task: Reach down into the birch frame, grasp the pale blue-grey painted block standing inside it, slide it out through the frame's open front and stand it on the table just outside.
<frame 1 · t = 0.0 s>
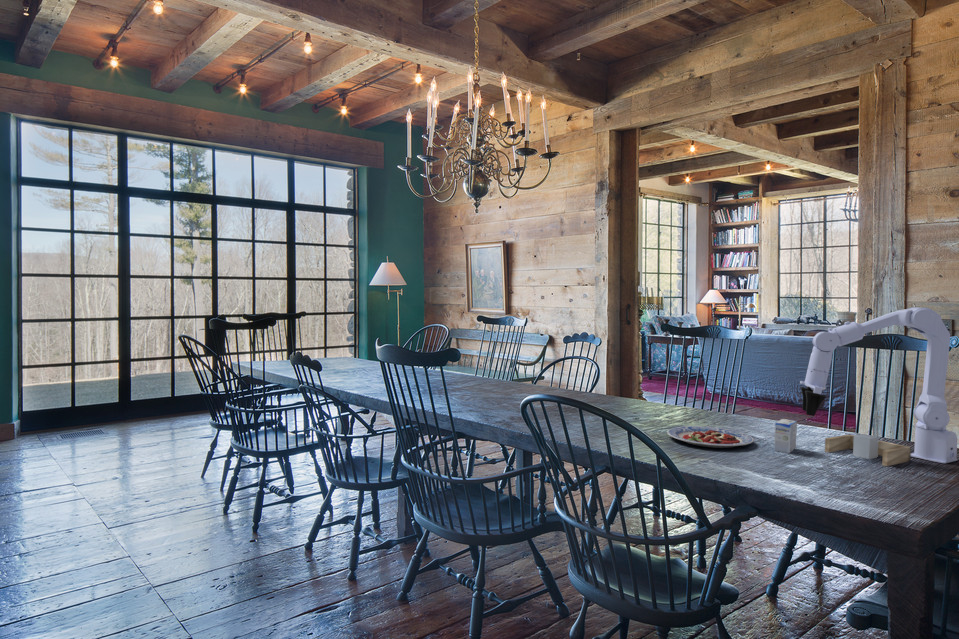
hand: (808, 413, 188), 11 cm above the table, tool pointing down, fingers open, 7 cm apart
ceramic plate: (709, 442, 194), on the table
birch frame: (866, 456, 178), on the table
medicine box: (785, 450, 184), on the table
block: (865, 456, 178), on the table
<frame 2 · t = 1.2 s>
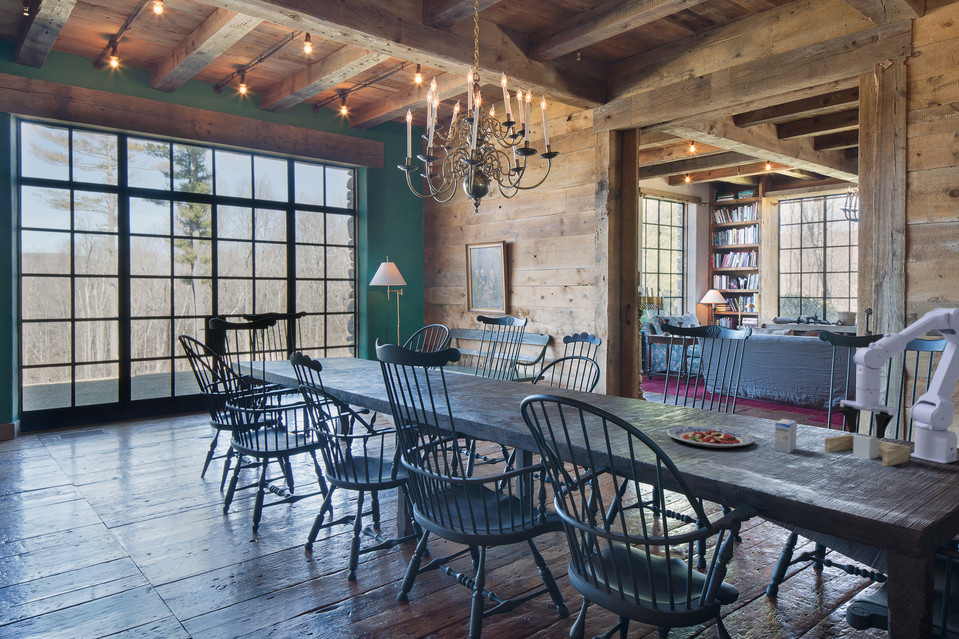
hand: (865, 435, 177), 6 cm above the table, tool pointing down, fingers open, 7 cm apart
nothing on the table moved.
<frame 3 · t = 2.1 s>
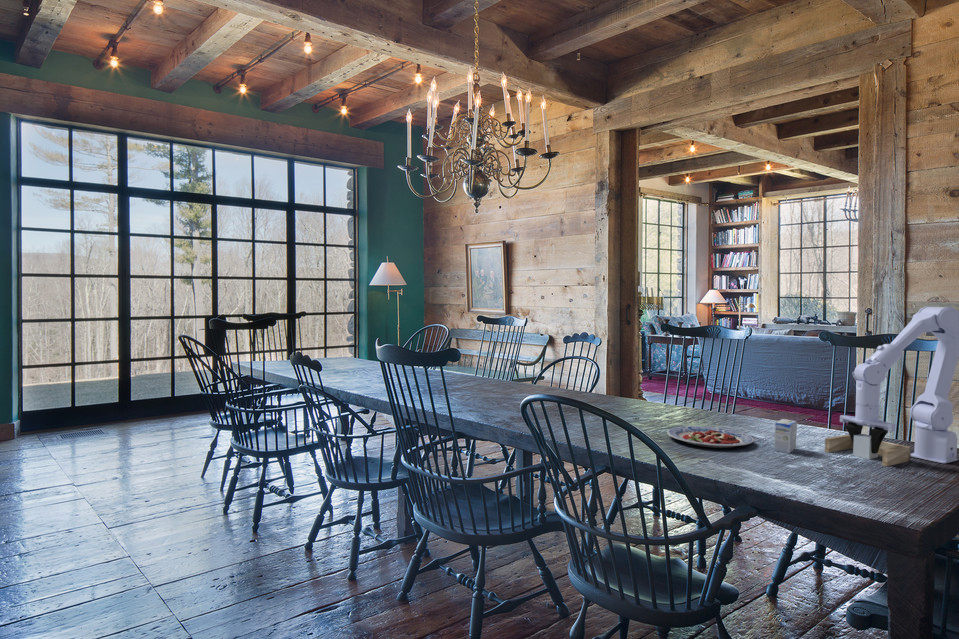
hand: (865, 450, 178), 2 cm above the table, tool pointing down, fingers closed on block, 4 cm apart
block: (865, 456, 178), on the table, touching gripper
everything else where it was.
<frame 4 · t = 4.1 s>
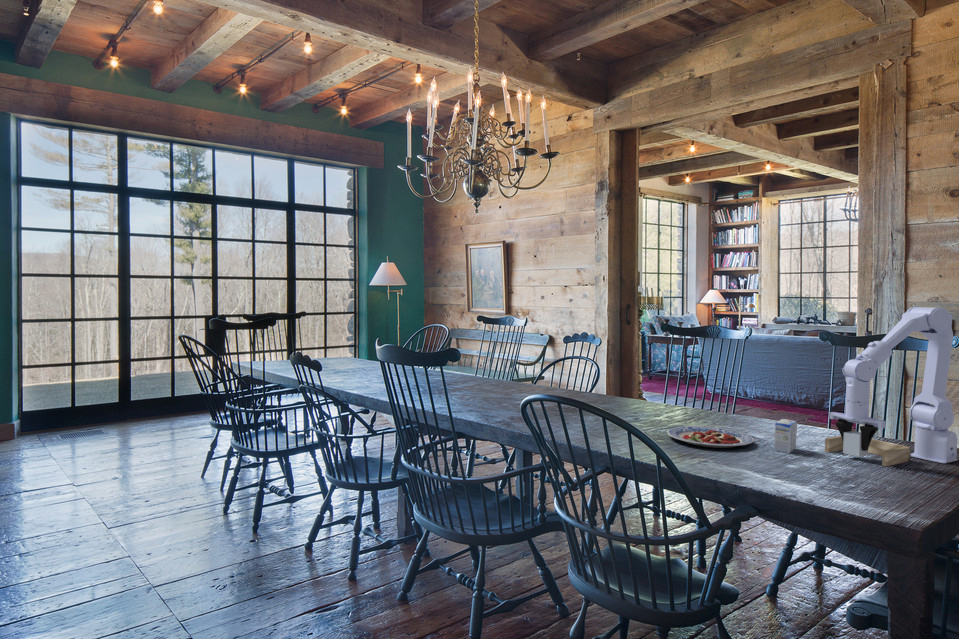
hand: (855, 448, 175), 3 cm above the table, tool pointing down, fingers closed on block, 4 cm apart
block: (855, 453, 175), point 1 cm above the table, touching gripper
everything else where it was.
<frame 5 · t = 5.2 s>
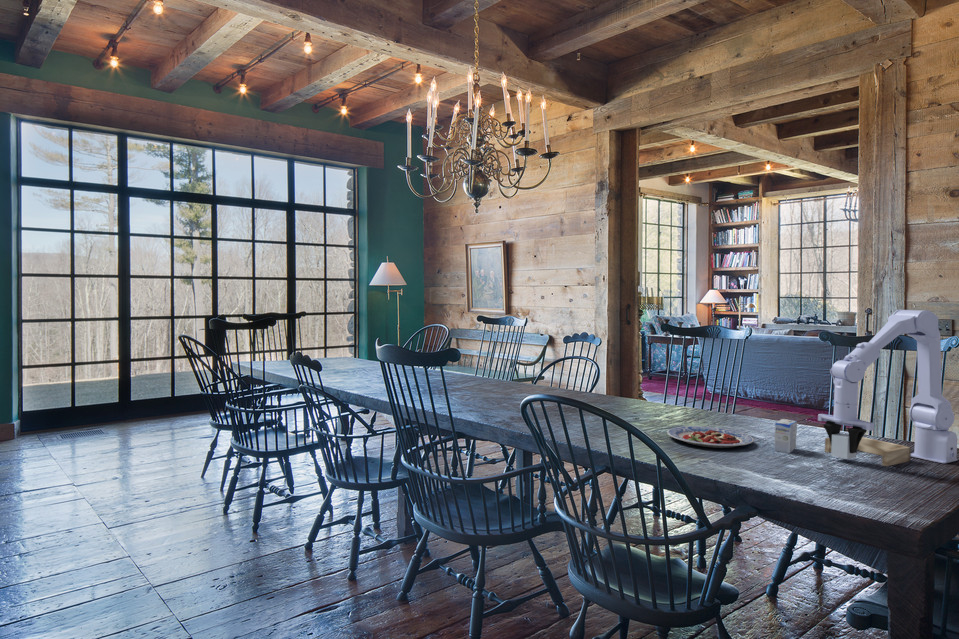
hand: (843, 450, 172), 3 cm above the table, tool pointing down, fingers closed on block, 4 cm apart
block: (843, 456, 172), point 1 cm above the table, touching gripper
everything else where it was.
when the fingers open (2 cm above the table, at t = 6.0 s): block stays where it is, on the table.
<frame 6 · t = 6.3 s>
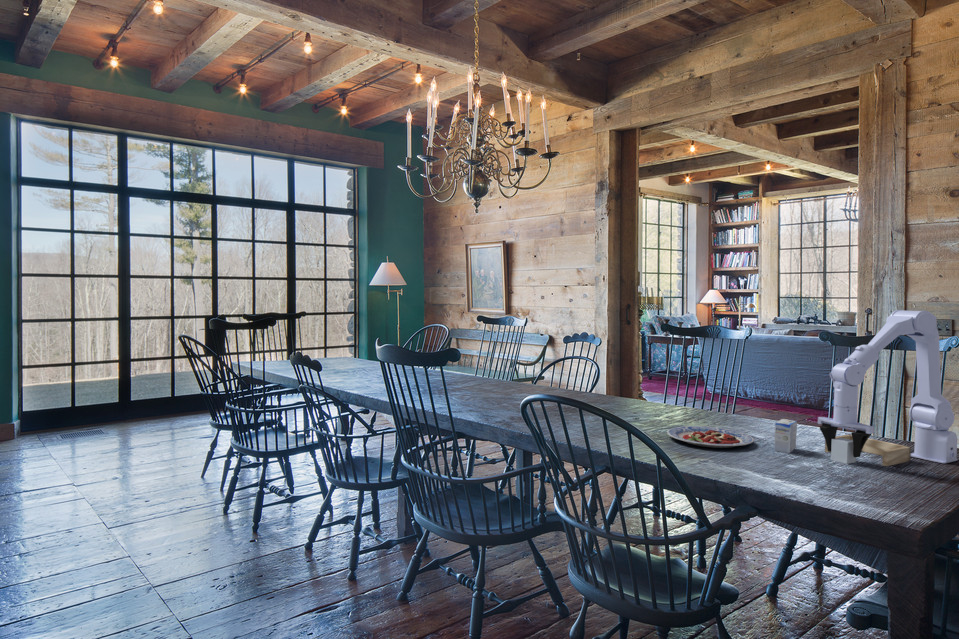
hand: (843, 453, 172), 2 cm above the table, tool pointing down, fingers open, 7 cm apart
block: (843, 461, 172), on the table
everything else where it was.
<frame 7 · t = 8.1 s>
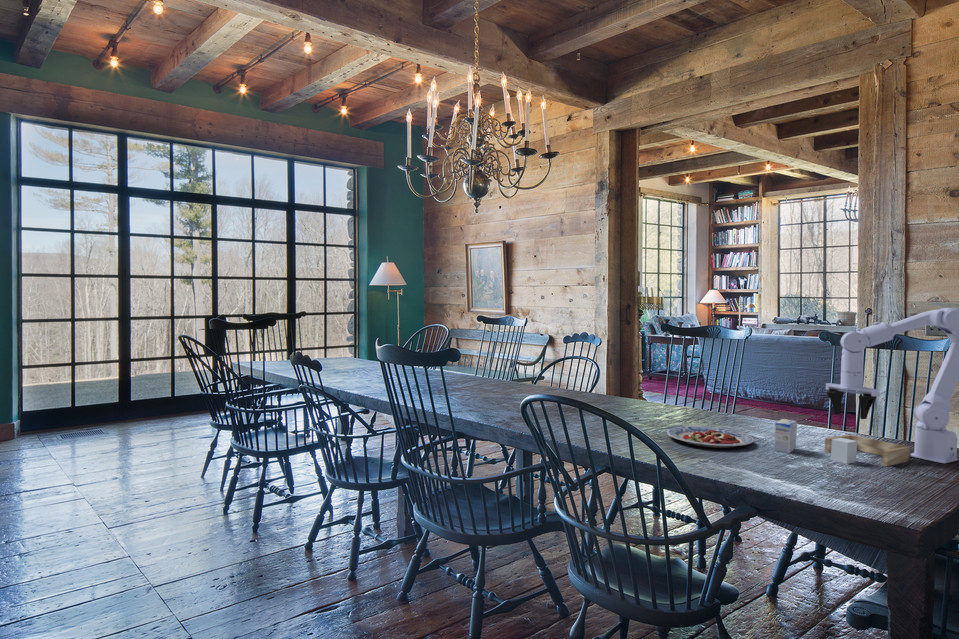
hand: (850, 416, 184), 10 cm above the table, tool pointing down, fingers open, 7 cm apart
nothing on the table moved.
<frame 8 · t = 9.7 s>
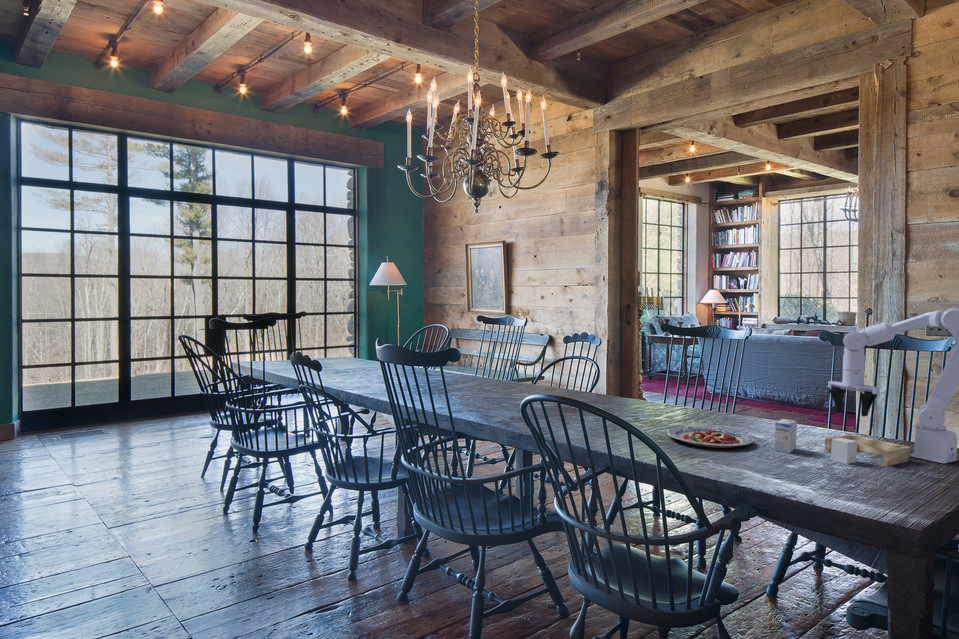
hand: (851, 413, 188), 10 cm above the table, tool pointing down, fingers open, 7 cm apart
nothing on the table moved.
at the end: block inside the target area (1.1 cm from its centre), on the table; block tilted 0°; the gripper is holding nothing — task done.
